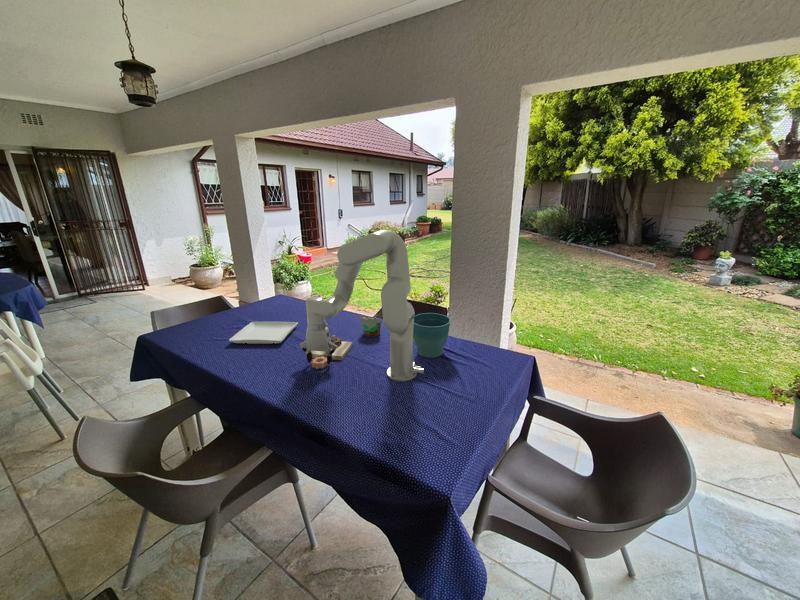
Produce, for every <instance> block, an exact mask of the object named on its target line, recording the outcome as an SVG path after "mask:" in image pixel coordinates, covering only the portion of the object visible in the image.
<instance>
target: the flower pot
mask: <svg viewBox="0 0 800 600" xmlns="http://www.w3.org/2000/svg"><path fill="white" fill-rule="evenodd" d="M450 324H451V318H450V317H449V316H447V315H445V314H443V313H442V314H440V313H435V312H425V313H418V314H416V315H415V317H414V331H413V342H414V343H415V346H416V348H417V350H416V351H417V353H418V355H419V356H421V357H423V358H429V359H430V358H431V359H433V358H438V357H440V356H442V355H443V353H444V348H445V345H446V344H447V340H448V338H449V331H450Z"/></svg>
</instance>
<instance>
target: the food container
mask: <svg viewBox="0 0 800 600" xmlns="http://www.w3.org/2000/svg"><path fill="white" fill-rule="evenodd" d="M382 321H383V319H382V318H381V317H380V318H375V317H371V316H364V314H362V315H361V317H360V322H361V323H362V324H361V325H362V331H363V335H364V336H365V337H367V338H376V337H379V336H381V325H382Z"/></svg>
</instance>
